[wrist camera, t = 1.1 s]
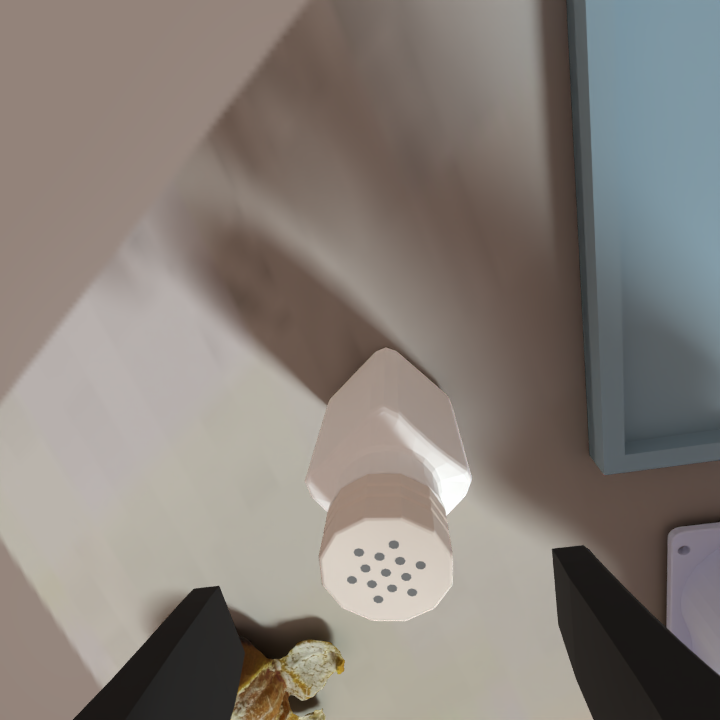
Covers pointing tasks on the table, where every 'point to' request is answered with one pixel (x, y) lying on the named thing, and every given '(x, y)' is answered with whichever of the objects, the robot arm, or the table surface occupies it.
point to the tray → (648, 227)
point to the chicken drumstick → (284, 680)
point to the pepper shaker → (388, 490)
